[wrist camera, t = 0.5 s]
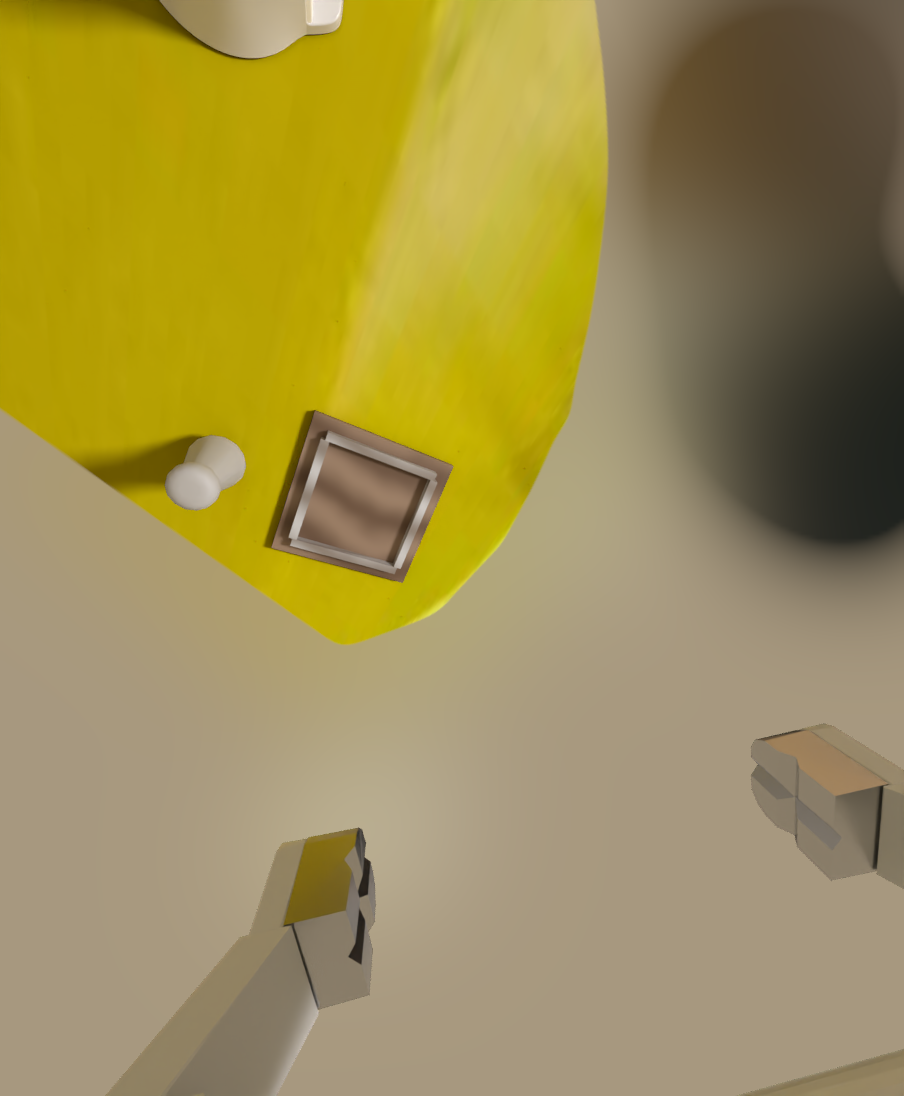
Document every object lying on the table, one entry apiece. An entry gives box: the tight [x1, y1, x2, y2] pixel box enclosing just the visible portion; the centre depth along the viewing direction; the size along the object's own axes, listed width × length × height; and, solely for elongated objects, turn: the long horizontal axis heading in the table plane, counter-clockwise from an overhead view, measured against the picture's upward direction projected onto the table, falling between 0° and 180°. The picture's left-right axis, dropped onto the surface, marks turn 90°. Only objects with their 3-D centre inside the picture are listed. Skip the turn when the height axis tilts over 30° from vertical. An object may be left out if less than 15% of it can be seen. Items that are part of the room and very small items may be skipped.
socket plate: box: [271, 410, 453, 583], centre depth 55 cm, size 18×18×2 cm
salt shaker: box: [165, 435, 246, 510], centre depth 44 cm, size 6×6×13 cm
